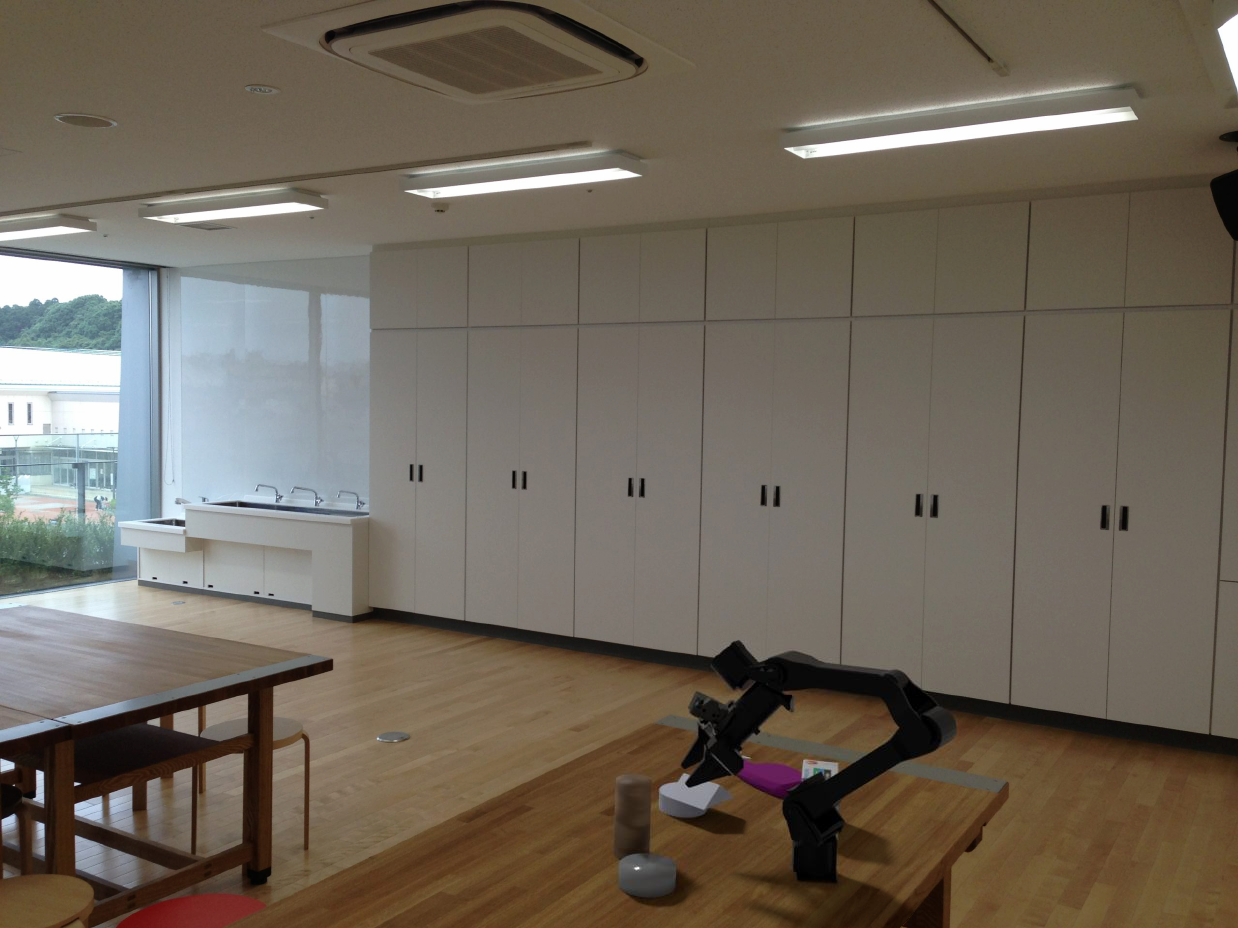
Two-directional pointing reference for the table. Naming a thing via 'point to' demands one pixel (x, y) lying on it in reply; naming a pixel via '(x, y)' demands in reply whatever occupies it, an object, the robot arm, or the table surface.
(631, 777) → the walnut cylinder
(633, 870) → the slate pedestal
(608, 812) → the table surface
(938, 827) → the table surface
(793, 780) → the spray bottle
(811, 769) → the light bulb box
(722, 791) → the wedge on round base
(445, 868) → the table surface
